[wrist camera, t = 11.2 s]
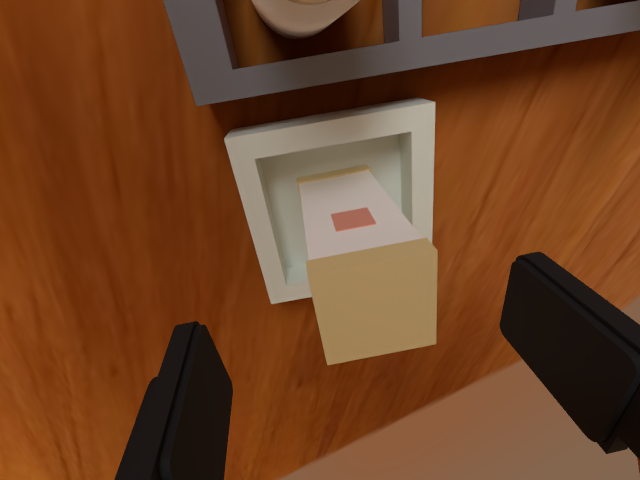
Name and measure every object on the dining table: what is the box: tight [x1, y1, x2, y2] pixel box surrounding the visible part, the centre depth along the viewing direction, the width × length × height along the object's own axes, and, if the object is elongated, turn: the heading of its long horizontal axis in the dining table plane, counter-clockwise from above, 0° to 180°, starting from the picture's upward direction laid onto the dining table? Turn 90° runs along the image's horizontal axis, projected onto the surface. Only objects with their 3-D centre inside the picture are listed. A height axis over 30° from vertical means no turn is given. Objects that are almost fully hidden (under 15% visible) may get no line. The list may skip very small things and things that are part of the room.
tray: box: [224, 97, 435, 304], centre depth 19 cm, size 10×10×2 cm
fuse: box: [296, 164, 438, 365], centre depth 16 cm, size 4×4×10 cm
